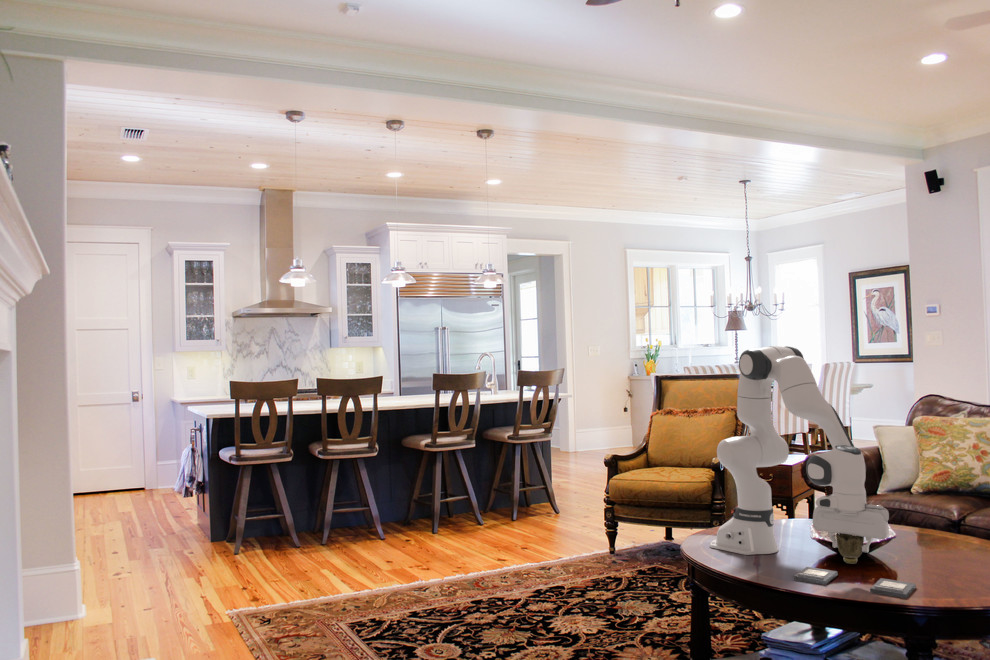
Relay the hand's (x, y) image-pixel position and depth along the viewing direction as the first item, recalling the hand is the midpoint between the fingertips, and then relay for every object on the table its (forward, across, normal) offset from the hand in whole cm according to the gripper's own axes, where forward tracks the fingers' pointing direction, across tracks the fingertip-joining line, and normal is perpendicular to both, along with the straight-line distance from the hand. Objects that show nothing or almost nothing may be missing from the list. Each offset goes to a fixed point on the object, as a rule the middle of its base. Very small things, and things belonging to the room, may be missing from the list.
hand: (850, 549), depth 221 cm
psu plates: (+10, -1, 0) cm, 10 cm away
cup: (+4, 0, 0) cm, 4 cm away
